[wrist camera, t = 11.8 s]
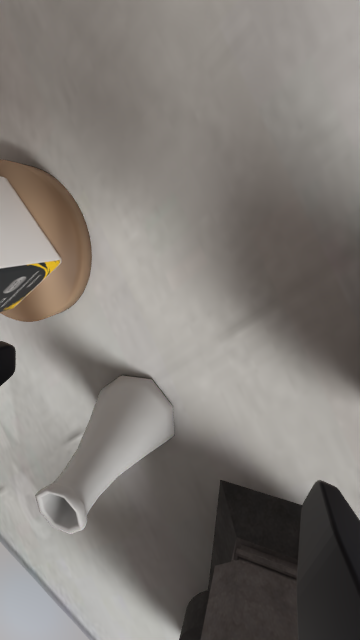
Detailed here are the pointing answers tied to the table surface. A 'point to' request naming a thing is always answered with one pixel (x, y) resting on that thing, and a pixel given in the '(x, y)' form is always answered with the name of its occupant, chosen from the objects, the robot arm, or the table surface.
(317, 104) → the table surface
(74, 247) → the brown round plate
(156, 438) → the flask
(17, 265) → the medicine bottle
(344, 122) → the table surface
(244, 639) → the juicer
